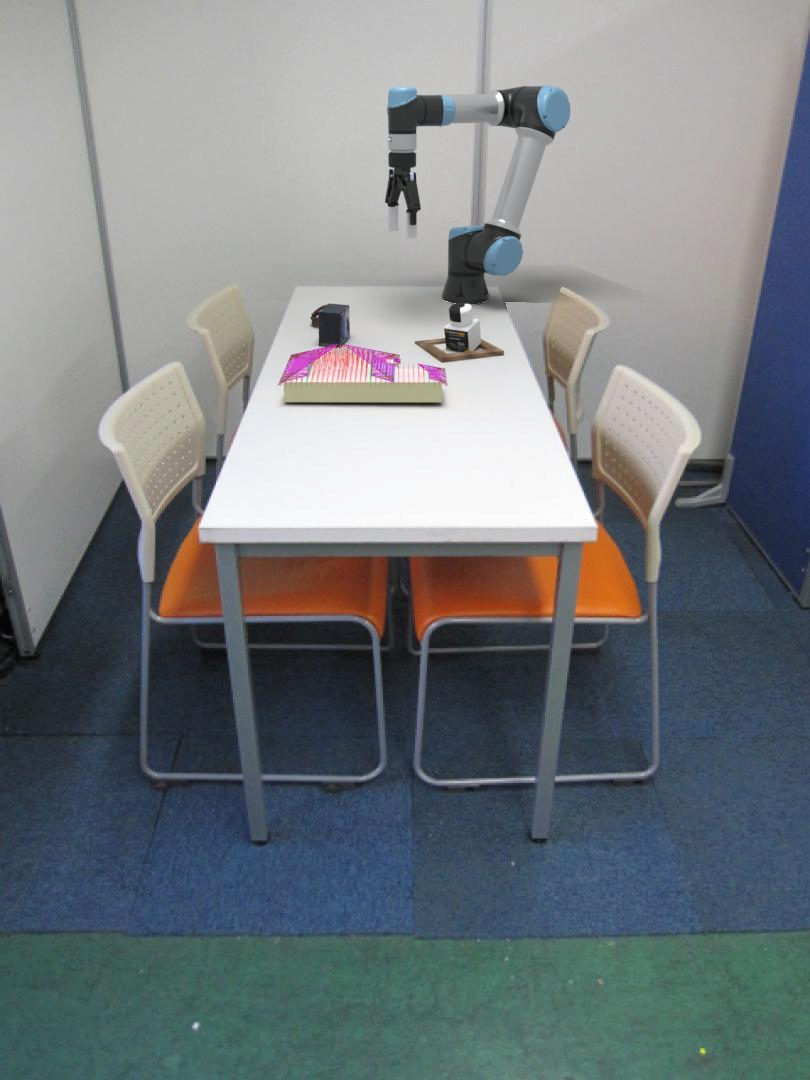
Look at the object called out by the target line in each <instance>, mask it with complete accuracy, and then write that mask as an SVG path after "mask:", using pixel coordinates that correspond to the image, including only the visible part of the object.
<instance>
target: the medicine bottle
mask: <svg viewBox="0 0 810 1080" xmlns="http://www.w3.org/2000/svg"><path fill="white" fill-rule="evenodd" d="M472 306H473V305H470V304H468V303H456V304H452V305H450V307H449V308H448V314H449V315H448V316H449V322H448V323H447V324H446V325H445V326H444V328H443V330H444V338H445V341H446V343H445V347H446V348H445V349H446V350H447V351H453V352H456V353H458V352H468V351H476V349H477V348H479V347H478V346H479V345H480V344H481V339H482V336H481V325H480V324H481V322H480V319H479V318H474V317H473V307H472Z"/></svg>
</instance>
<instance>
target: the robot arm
mask: <svg viewBox="0 0 810 1080" xmlns="http://www.w3.org/2000/svg"><path fill="white" fill-rule="evenodd" d="M417 91H418V90H417V88H416V87H415V86H391V88H389V89H388V93H387V94H388V95H387V105H386V113H387V124H388V125H387V127H388V128H387V129H388V133H387V134H388V138H387V139H386V141H387V142H388V150H389V152H388V155H387V157H388V160H387V161H388V162H387V163H388V167H389V168H390V169H389V170H388V180H387V181H388V182H387V186H386V187H387V188H386V192H385V197H384V203H385V204H387V208H388V209H387V211H388V213H387V214H388V215H387V216H388V232H399V206H400V203H399V200H400V197H401V193H403V197H404V200H405V204H406V207H407V209H406V211H405V213H406V238H407V239H413V238H416V239H417V237H418V226H417V225H418V223H417V222H418V212H419V211H421V209H422V207H421V202H420V201H421V200H420V195H419V188H418V184H417V172H415V171H414V172H413V171H412V170H411V168H416V167H417V153H416V152H415V151H416V150H417V145H418V144H417V136H418V135H417V127H439V128H442V127H444V126H445V127H447V126H450V125H451V124H476V123H477V124H486V123H487V124H488V126H490V127H504V128H505V127H506V128H512V129H515V133H516V135H517V140H516V143H515V147H514V148H513V149H514V150H513V152H512V156H511V157H510V158H511V159H510V162H509V164H508V167H507V170H506V171H507V172H506V173H505V177H504V180H503V182H502V186H501V188H500V192H499V195H498V198H497V201H496V205H495V206H494V211H493V214H492V217H491V219H489V220H487V221H486V222H485V223H483V224H484V225H483V224H482V225H467V226H466V225H465V226H456V227H455V226H454V227H452V228H451V229H450V230H449V231H448V239H447V243H448V245H447V251H448V252H447V253H448V254H447V255H448V256H447V278H446V281H445V284H444V287H443V291H442V294H441V300H442V299H443V300H445V301H448V302H451V303H450V304H452V303H468V304H476V305H479V304H478V303H482V302H485V301H487V300H488V299H490V298H489V297H490V294H489V290H488V285H487V283H486V279H485V274H489V275H491V276H493V277H494V276H498V277H503V276H504V277H505V276H507V275H510V274H511V273H513V272H514V271H516V269H517V268H518V266H520V264H521V262H522V259H523V254H524V250H523V244H522V242H521V237H522V233H521V231H520V229H519V227H520V225H521V222H522V219H523V216H524V213H525V210H526V207H527V204H528V200H529V199H530V195H531V191H532V190H533V189H532V188H533V186H534V183H535V180H536V177H537V173H538V171H539V168H540V165H541V162H542V159H543V156H544V153H545V151H546V147H547V146H549V145H550V144H553V142H554V139H555V136H556V134H557V133H558V132H560V131H562V130H563V129H565V127H566V126H567V125H568V123H569V120H570V116H571V103H570V101H569V97H568V95H567V93H566V92H565V91H564V90H563V89H562V88H561V87H558V86H552V85H542V86H541V85H539V86H538V85H534V86H530V85H529V86H528V85H526V86H525V85H524V86H522V85H521V86H516V87H512V88H507V89H506V88H504V89H496V90H495V89H493V90H490V91H489V92H488V93H484V94H483V93H478V94H477V93H476V94H475V93H474V94H473V93H472V94H471V93H470V94H469V93H467V94H462V93H461V94H418V92H417ZM443 300H442V301H443ZM445 301H444V302H445ZM488 301H489V300H488ZM488 301H487V302H488ZM448 302H447V303H448ZM482 304H483V303H482Z"/></svg>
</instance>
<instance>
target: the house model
mask: <svg viewBox="0 0 810 1080" xmlns="http://www.w3.org/2000/svg"><path fill="white" fill-rule="evenodd" d="M333 346H334V347H335V348H334V347H333ZM336 346H337V345H332V347H331V346H328V347H320V348H314V349H311V350H306V351H300V352H297V353H293V354H290V356H289V359H288V360H287V363H286V365H285V368H284V370H283V373H282V375H281V377H280V380H279V382H278V384H277V387H278V386H281V385H282V384H283V396H284V397H283V398H284V403H443V402H442V401H443V384H444V386H446V387H448V381H447V380H448V379H447V373H446V372H447V371H446V368H444V367H439V366H433V365H429V364H428V365H427V364H423V363H416V364H417V365H418V366H417V367H416V368H415V363H413V368H411V367H410V365H409V364H410V363H408V365H407V367H406V368H404V367H405V363H403V368H400V365H401V359H400V356H401V355H400V354H397V353H392V352H387V351H382V350H375V349H372V348H368V347H367V348H366V347H360V346H356V345H351V344H350V345H349V344H346V343H345V344H344V345H343V347H341V345H340V347H341V348H337V347H336ZM343 348H344V349H343ZM333 349H334V350H333ZM338 349H339V350H338ZM420 367H421V368H420Z"/></svg>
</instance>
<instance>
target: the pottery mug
mask: <svg viewBox="0 0 810 1080" xmlns="http://www.w3.org/2000/svg"><path fill="white" fill-rule="evenodd" d="M326 305H327V304H324V305H322V306H320V307H318V308H317V309H315V310H314V311H313V312H312V313H311V316H310V317H309V319H310V320H311V327H313V328H318V311H319V310H321V309H322V308H323V307H325V306H326Z"/></svg>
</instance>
